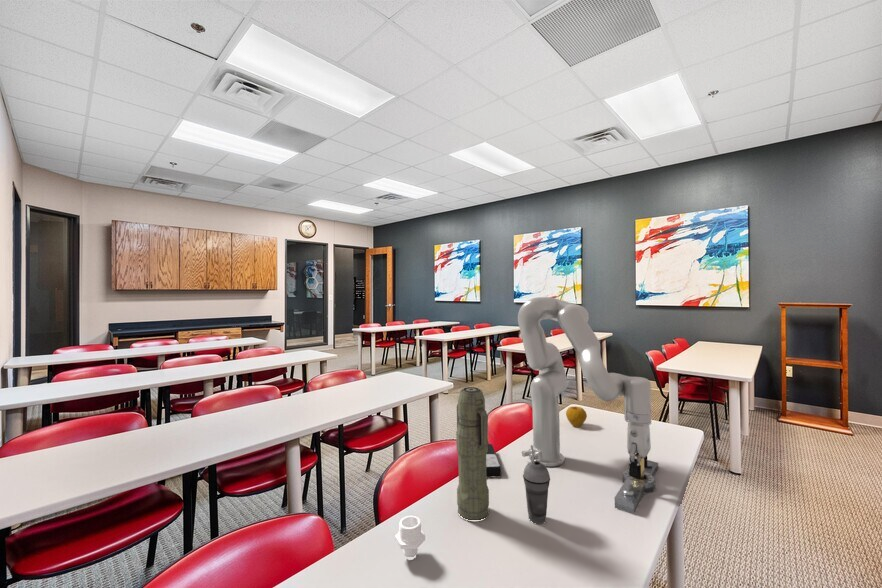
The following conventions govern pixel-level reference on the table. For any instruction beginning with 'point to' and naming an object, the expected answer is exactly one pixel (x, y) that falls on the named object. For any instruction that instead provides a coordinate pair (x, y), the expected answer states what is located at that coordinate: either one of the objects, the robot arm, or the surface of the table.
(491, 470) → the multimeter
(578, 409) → the apple
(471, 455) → the thermos
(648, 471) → the lower chain end
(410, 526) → the pipe fitting
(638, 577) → the table surface
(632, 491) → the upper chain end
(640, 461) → the brass pin
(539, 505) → the mini scuba tank
